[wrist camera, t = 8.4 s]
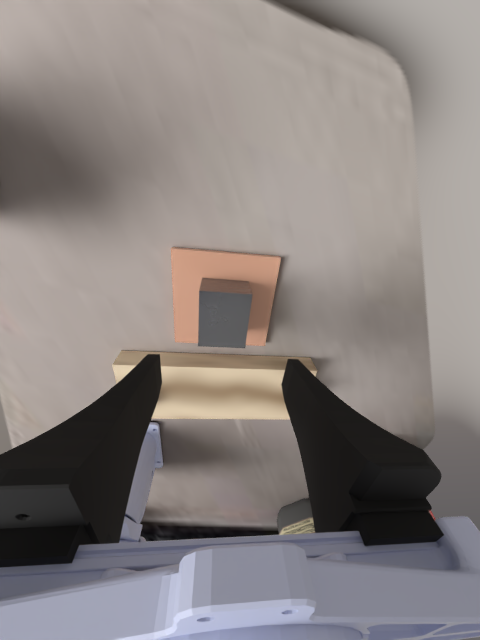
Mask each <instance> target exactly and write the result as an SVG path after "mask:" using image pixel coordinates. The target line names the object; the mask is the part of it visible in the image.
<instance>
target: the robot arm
mask: <svg viewBox="0 0 480 640" xmlns="http://www.w3.org/2000/svg"><path fill="white" fill-rule="evenodd" d="M161 385H162V374H161V363H160V354H148V355H146V356H145V357H144V358H143V359H142V360H141V361H140V362H139V363H138V364H137V365H136V366H135V367H134V368H133V369H132V370H131V371H130V372H129V373H128V374H127V375H126V376H125V377H124V378H123V379H122V380H121V381H119V382H118V383H117V384H116V385H115V386H114V387H112V388H111V389H110V390H109V391H108V392H106V393H105V394H104V395H103V396H101V397H100V398H99V399H97V400H96V401H95V402H93V403H92V404H91V405H89V406H88V407H86V408H85V409H83V410H82V411H80V412H79V413H77V414H75V415H74V416H72V417H71V418H69V419H68V420H66V421H64V422H63V423H61V424H59V425H57V426H56V427H54V428H52V429H50V430H49V431H47V432H45V433H43V434H41V435H39V436H38V437H36V438H34V439H32V440H30V441H28V442H26V443H24V444H22V445H19V446H17V447H15V448H13V449H11V450H9V451H7V452H5V453H3V454H1V455H0V640H458V639H466V638H473V637H480V531H479V530H478V529H477V528H476V526H475V525H474V524H473V522H472V521H471V520H470V518H469V517H466V516H456V517H441V518H438V519H435V520H434V519H433V517H432V516H431V514H430V512H429V511H430V510H431V505H430V504H429V502H428V501H427V499H426V497H427V496H428V494H430V493H431V492H432V491H433V490H434V488H435V487H436V486H437V485H438V484H439V482H440V479H441V473H440V471H439V469H438V468H437V467H436V466H435V464H434V463H433V462H432V460H431V459H430V458H429V457H428V455H427V454H426V453H425V452H424V450H422V449H420V448H418V447H416V446H414V445H412V444H410V443H408V442H406V441H404V440H402V439H400V438H398V437H396V436H395V435H393V434H391V433H389V432H388V431H386V430H384V429H382V428H381V427H379V426H378V425H376V424H374V423H373V422H371V421H370V420H368V419H367V418H365V417H364V416H362V415H361V414H359V413H358V412H356V411H355V410H354V409H352V408H351V407H350V406H348V405H347V404H346V403H344V402H343V401H342V400H341V399H339V398H338V397H337V396H336V395H335V394H334V393H332V392H331V391H330V390H329V389H328V388H327V387H326V386H325V385H324V384H323V383H321V382H320V381H319V380H318V379H317V378H316V377H315V376H314V375H313V374H312V373H311V372H310V371H309V370H308V369H307V368H306V367H305V366H304V365H303V363H302V362H301V361H299V360H298V359H288V360H287V364H286V368H285V372H284V376H283V380H282V384H281V386H282V392H283V397H284V402H285V405H286V408H287V411H288V414H289V417H290V420H291V423H292V426H293V429H294V432H295V435H296V438H297V442H298V445H299V449H300V454H301V458H302V462H303V467H304V472H305V477H306V482H307V487H308V492H309V498H310V503H311V509H312V515H313V522H314V528H315V533H306V534H287V535H267V536H247V537H228V538H208V539H188V540H169V541H149V542H146V540H145V538H144V537H140V534H141V530H142V526H143V525H142V524H140V522H141V520H142V518H143V515H144V512H145V508H146V504H147V500H148V496H149V492H150V488H151V483H152V479H153V475H154V471H155V468H161V467H163V456H162V447H161V438H160V428H159V424H158V423H156V422H150V421H151V418H152V416H153V413H154V410H155V407H156V405H157V402H158V399H159V394H160V390H161Z"/></svg>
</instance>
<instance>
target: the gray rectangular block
mask: <svg viewBox="0 0 480 640" xmlns="http://www.w3.org/2000/svg"><path fill="white" fill-rule="evenodd" d="M252 295H253V294H252V291H251V288H250V284H249V281H240V280H227V279H214V278H202V281H201V285H200V289H199V326H198V346H208V347H231V348H245V345H246V338H247V331H248V323H249V316H250V309H251V302H252Z"/></svg>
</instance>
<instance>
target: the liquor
mask: <svg viewBox="0 0 480 640" xmlns="http://www.w3.org/2000/svg"><path fill="white" fill-rule="evenodd" d="M277 525H278V531H279V535H287V534H306V533H315V528H314V522H313V515H312V509H311V503H310V499H302V500H300V501H297V502H295V503H292V504H290V505H287V506H285V507H282V508H281V510H280V512H279V514H278V518H277Z"/></svg>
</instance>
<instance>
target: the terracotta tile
mask: <svg viewBox="0 0 480 640" xmlns="http://www.w3.org/2000/svg"><path fill="white" fill-rule="evenodd" d="M280 261H281V257H280V256H271V255H260V254H248V253H237V252H225V251H213V250H202V249H190V248H178V247H172V248H171V262H172V284H173V306H174V328H175V342H185V343H198V326H199V289H200V285H201V281H202V278H214V279H227V280H240V281H249V284H250V288H251V291H252V294H253V295H252V302H251V309H250V316H249V323H248V331H247V338H246V345H257V346H265V342H266V337H267V331H268V326H269V321H270V315H271V310H272V304H273V299H274V293H275V288H276V283H277V277H278V272H279V266H280Z"/></svg>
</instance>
